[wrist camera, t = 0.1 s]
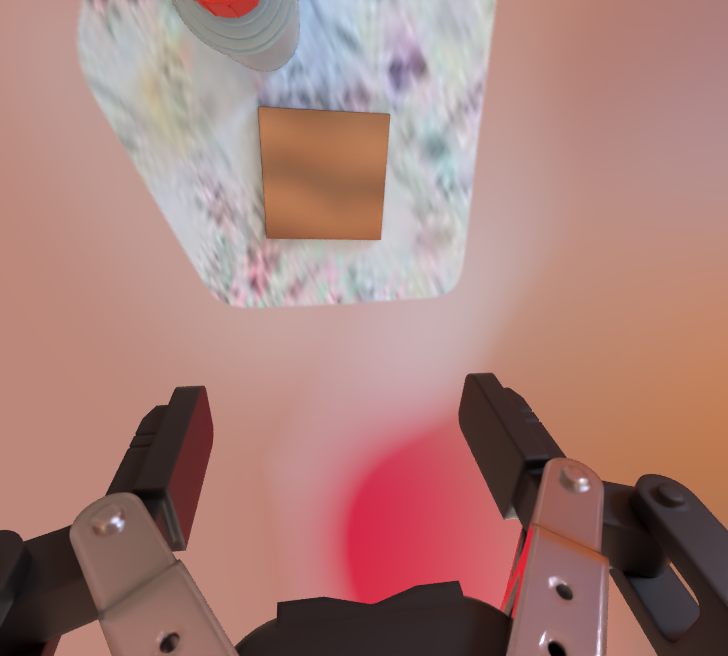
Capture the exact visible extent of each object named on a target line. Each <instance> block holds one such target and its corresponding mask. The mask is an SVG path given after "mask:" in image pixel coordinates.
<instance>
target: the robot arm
mask: <svg viewBox="0 0 728 656" xmlns="http://www.w3.org/2000/svg"><path fill="white" fill-rule="evenodd" d="M459 424H460V428H461V431H462V433H463V435H464V437H465V439H466V441H467V443H468V445H469V447H470V449H471V452H472V454H473V456H474V458H475V460H476V462H477V464H478V466H479V468H480V470H481V473H482V475H483V477H484V479H485V481H486V483H487V485H488V487H489V489H490V492H491V493H492V496H493V498H494V500H495V502H496V504H497V506H498V508H499V511H500V513H501V515H502V517H503V519H504V520H506V519H516V518H519V520H520V522H521V524H522V529H521V532H520V535H519V539H518V543H517V547H516V551H515V555H514V559H513V563H512V567H511V571H510V575H509V580H508V583H507V587H506V591H505V595H504V598H503V601H502V604H501V607H500V610H499V609H497V608H495V607H494V606H491V605H490V604H488V603H485V602H483V601H481V600H478V599H475V598H472V597H468V596H463V592H462V590H461V586H460V583H459V581H451V582H443V583H434V584H427V585H418V586H414V587H413V588H410V589H408V590H405V591H403V592H401V593H398V594H396V595H394V596H391V597H389V598H387V599H385V600H383V601H380V602H378V603H375V604H365V603H360V602H353V601H347V600H341V599H334V598H329V597H318V598H310V599H301V600H293V601H285V602H278V603H277V618H275V619H273V620H270V621H268V622H266V623H265V624H263V625H261V626H260V627H258V628H256V629H255V630H253V631H252V632H251V633H249V634H248V635H247V636H245V637H244V638H243V639H242V640H241V641H240V642H239V643H238V644H237V645H236V646H235V647H234V646H233V645H232V643H231V641H230V640H229V638H228V636H227V635H226V633H225V631H224V630H223V628H222V626H221V625H220V623H219V621H218V620H217V618H216V616H215V615H214V613H213V611H212V610H211V608H210V606H209V605H208V603H207V601H206V600H205V598H204V596H203V595H202V593H201V591H200V590H199V588H198V586H197V585H196V583H195V581H194V580H193V578H192V576H191V575H190V573H189V571H188V570H187V568H186V567H185V565H184V564H183V562H182V561H181V560H180V559H179V560H177V559H176V558H175V556H174V554H173V553H172V552H173V551H182V550H186V548H187V544H188V540H189V536H190V532H191V528H192V524H193V520H194V516H195V512H196V508H197V504H198V500H199V496H200V492H201V488H202V485H203V481H204V477H205V472H206V469H207V465H208V461H209V457H210V453H211V449H212V444H213V423H212V417H211V412H210V407H209V402H208V397H207V392H206V388H205V386H186V387H176V388H175V390H174V392H173V395H172V397H171V400H170V402H169V404H168V405H160V406H156V407H155V408H154V409H152V410H151V411H150V412H149V413H148V414H147V415H146V416H145V417H144V418H143V419H142V421H141V423H140V425H139V427H138V429H137V431H136V436H134V438H133V440H132V442H131V444H130V448H129V449H128V450H127V452H126V454H125V456H124V458H123V460H122V462H121V464H120V466H119V468H118V470H117V472H116V474H115V477H114V478H113V481H112V483H111V485H110V487H109V489H108V491H107V493H106V495H105V497H102V498H100V499H98V500H96V501H95V502H93V503H91V504H90V505H89V506H87V507H86V508H85V509H84V510H83V511H82V512H81V513H80V514H79V515H78V516H77V517H76V519H75V520H74V522H73V524H72V525H70V526H67V527H65V528H62V529H60V530H56V531H53V532H51V533H48V534H45V535H42V536H39V537H36V538H33V539H30V540H27V541H23V540H22V538H21V537H20V536H19V534H17V533H16V532H13V531H9V530H0V656H54V653H55V651H56V648H57V646H58V643H59V640H60V638H61V635H63V634H65V633H67V632H69V631H72V630H74V629H77V628H79V627H81V626H83V625H86V624H88V623H91V622H93V621H95V620H97V619H98V620H99V623H100V626H101V628H102V631H103V634H104V636H105V639H106V641H107V644H108V647H109V649H110V652H111V655H112V656H606V648H607V619H608V590H609V573H610V575H611V576H612V578H613V580H614V581H615V583H616V585H617V587H618V588H619V590H620V592H621V593H622V595H623V597H624V599H625V600H626V602H627V604H628V605H629V607H630V609H631V611H632V612H633V614H634V616H635V617H636V619H637V621H638V622H639V624H640V626H641V628H642V629H643V631H644V633H645V635H646V636H647V638H648V639H649V641H650V643H651V645H652V647H653V648H654V650H655V652H656V653H657V655H658V656H728V531H727V529H726V528H725V527H724V526H723V525H722V524H721V523H720V522H719V521H718V520H717V518H716V517H715V516H714V515H713V514H712V513H711V512H710V511H709V510H708V509H707V507H706V506H705V505H704V504H703V503H702V502H701V501H700V500H699V499H698V498H697V497H696V496H695V495H694V494H693V493H692V492H691V491H690V490H689V489H688V488H686V487H685V486H683V485H682V484H680V483H678V482H677V481H675V480H672V479H670V478H667V477H665V476H661V475H656V474H647V475H643V476H641V477H640V478H639V479H638V481H637V483H636V485H635V486H634V487H632V486H627V485H622V484H617V483H611V482H606V481H602V480H601V479H600V478H599V476H598V475H597V474H596V473H595V472H594V471H593V470H592V469H590V468H589V467H588V466H586V465H584V464H583V463H581V462H579V461H576V460H573V459H569V458H567V457H566V456H565V455H564V453H563V452H562V451H561V449H560V448H559V446H558V445H557V444H556V443H555V441H554V440H553V438H552V437H551V436H550V434H549V433H548V431H547V430H546V429H545V427H544V426H543V425H542V423H541V422H539V419H538V418H537V416H536V415H535V414H534V412H532V409H531V408H530V407H529V405H528V404H527V403H526V401H525V400H524V398H522V397H521V396H520V395H519V394H517V393H516V392H514V391H513V390H512V389H510V388H503V387H502V385H501V384H500V382H499V381H498V379H497V378H496V377H495V375H494V374H493V373H474V374H468V375H467V376H466V379H465V383H464V388H463V393H462V398H461V402H460V407H459ZM671 562H672V563H673V564H674V566H675V567H676V569H677V570H678V571H679V573H680V574H681V575H682V577H683V578H684V579H685V581H686V582H687V584H688V585H689V586H690V588H691V589H692V590H693V592H694V594H695V596H696V598H697V600H698V603H699V605H698V604H697V603H696V601H695V600H694V599H693V597H692V596H691V595H690V593H689V592H688V590H687V589H686V588H685V586H684V585H683V583H682V582H681V581H680V579H679V578H678V576H677V575H676V574H675V572H674V571H673V569H672V568H671V567H670V563H671Z"/></svg>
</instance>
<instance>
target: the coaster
mask: <svg viewBox="0 0 728 656" xmlns="http://www.w3.org/2000/svg"><path fill="white" fill-rule="evenodd" d="M258 114H259V129H260V144H261V160H262V175H263V190H264V205H265V220H266V235H267V238H272V239H347V240H381V229H382V216H383V202H384V189H385V176H386V162H387V149H388V136H389V122H390V114H380V113H363V112H345V111H327V110H310V109H292V108H275V107H258Z"/></svg>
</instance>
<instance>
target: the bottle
mask: <svg viewBox="0 0 728 656" xmlns="http://www.w3.org/2000/svg"><path fill="white" fill-rule="evenodd" d="M172 2H173V5H174V7H175V8H176V10H177V12H178V14H179V15H180V17H181V18H182V20H183V21H184V23H185V24H186V25H187V27H188V28H189V29H190V30H191V31H192V32H193V33H194V34H195V35H196V36H197V37H198V38H199V39H200V40H202V41H203V42H204V43H205V44H207V45H209V46H210V47H212V48H214V49H215V50H217V51H219V52H221V53H223V54H225V55H227V56H228V57H230V58H232V59H234V60H236V61H238V62H240V63H241V64H243V65H245V66H247V67H249V68H251V69H254V70H257V71H272V70H275V69H278V68H280V67H282V66H283V65H284V64H286V63H287V62H288V61H289V60H290V58H291V57H292V56H293V54H294V52H295V50H296V47H297V45H298V41H299V34H300V24H299V9H298V0H260V1H259V3H258V6H257V7H255V8H254V9H253V10H251V11H250V12H249V13H247V14H245V15H243V16H240V17H239V18H237V17H236V18H225V17H221V16H217V17H216V16H214V15H213V14H212V13H211V12H209V11H208V10H206V9H205V8H204V7H202V6H201V5H200V4H199V3H198V2H197V1H194V0H172Z"/></svg>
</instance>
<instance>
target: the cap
mask: <svg viewBox="0 0 728 656" xmlns="http://www.w3.org/2000/svg"><path fill="white" fill-rule="evenodd" d="M194 1H197V2H198V3H199V4H200V5H201V6H202V7H204V8H205V9H206V10H208V11H209V12H211V13H212V14H213V15H214V16H216V17H217V16H221V17H225V18H236V17H237V18H239V17H240V16H243V15H245V14H247V13H249V12H250V11H251V10H253V9H254V8H255V7H257V6H258V3H259V1H260V0H194Z"/></svg>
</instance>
